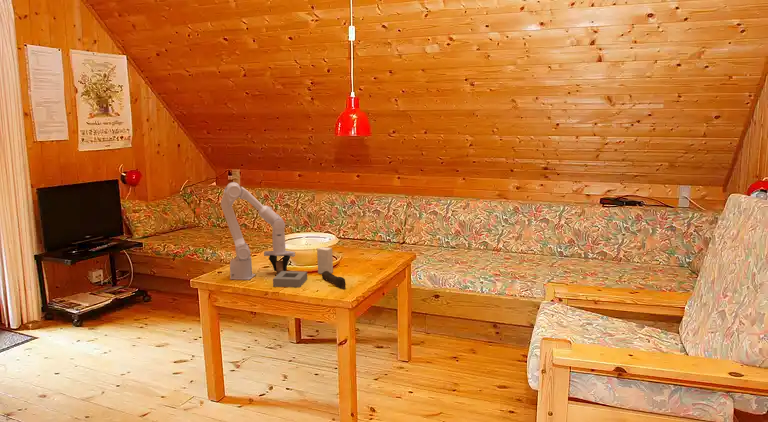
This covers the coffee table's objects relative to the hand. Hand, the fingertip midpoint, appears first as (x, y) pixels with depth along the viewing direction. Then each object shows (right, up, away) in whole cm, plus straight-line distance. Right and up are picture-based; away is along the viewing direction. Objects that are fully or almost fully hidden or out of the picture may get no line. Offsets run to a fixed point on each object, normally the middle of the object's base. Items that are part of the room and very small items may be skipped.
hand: (280, 270), depth 260 cm
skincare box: (+21, -1, 0) cm, 21 cm away
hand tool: (+28, -4, -16) cm, 32 cm away
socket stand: (+7, -4, -14) cm, 16 cm away
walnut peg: (0, -1, 0) cm, 1 cm away
